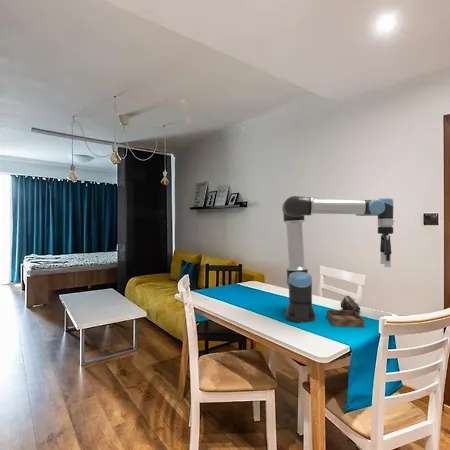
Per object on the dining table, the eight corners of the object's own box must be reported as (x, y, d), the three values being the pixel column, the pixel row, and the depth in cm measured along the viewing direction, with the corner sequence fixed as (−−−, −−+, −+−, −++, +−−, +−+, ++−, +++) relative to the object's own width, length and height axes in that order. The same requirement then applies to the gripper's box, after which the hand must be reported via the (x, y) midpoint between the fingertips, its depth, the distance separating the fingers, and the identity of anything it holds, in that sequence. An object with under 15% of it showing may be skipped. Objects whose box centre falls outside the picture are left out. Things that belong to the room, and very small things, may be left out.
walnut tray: (332, 326, 141) (332, 318, 141) (326, 316, 156) (326, 309, 156) (364, 327, 139) (364, 319, 139) (355, 317, 154) (354, 310, 154)
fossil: (363, 312, 158) (353, 296, 159) (347, 320, 160) (338, 303, 161) (359, 307, 169) (349, 291, 170) (344, 314, 171) (335, 298, 172)
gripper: (397, 226, 149) (397, 268, 148) (389, 226, 172) (389, 263, 172) (381, 226, 151) (381, 268, 151) (374, 226, 175) (374, 262, 175)
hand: (385, 265), depth 161 cm, fingers open, 13 cm apart
